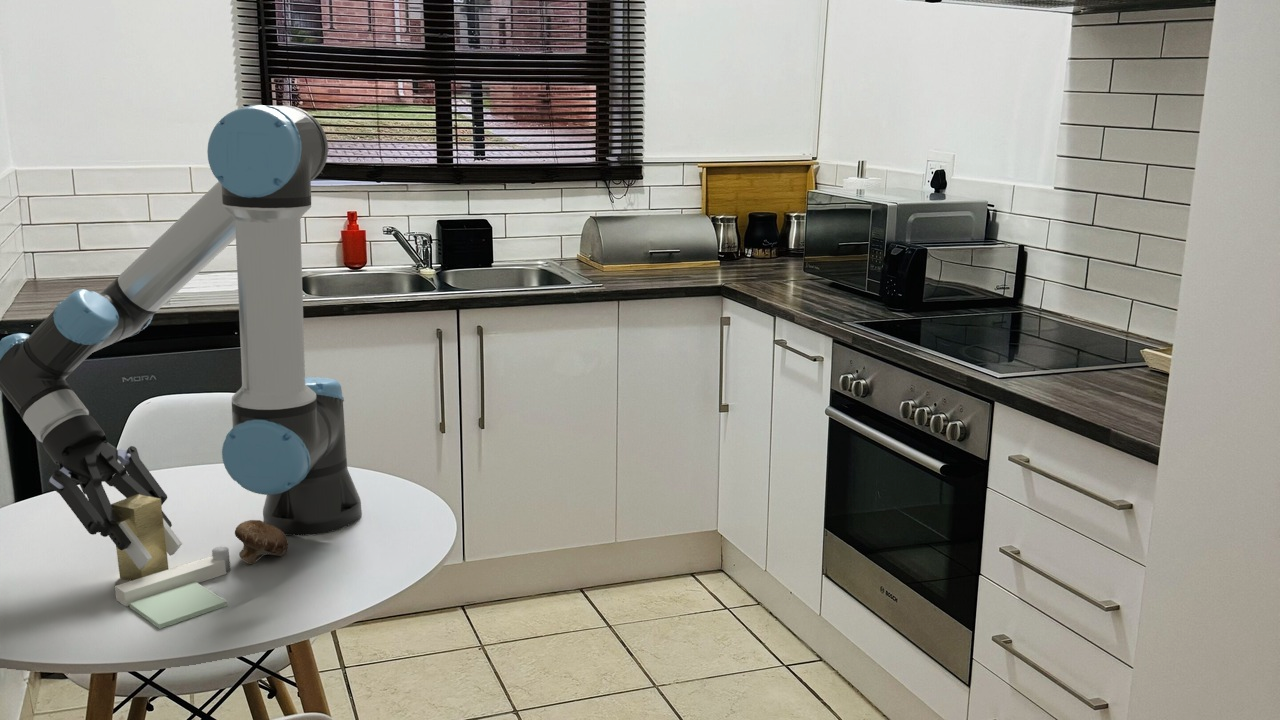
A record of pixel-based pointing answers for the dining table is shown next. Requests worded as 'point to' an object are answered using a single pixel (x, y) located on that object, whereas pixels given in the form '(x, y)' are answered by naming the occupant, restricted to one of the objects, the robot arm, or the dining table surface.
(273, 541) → the mushroom
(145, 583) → the door edge
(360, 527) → the dining table surface
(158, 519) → the block
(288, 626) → the dining table surface
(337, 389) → the robot arm
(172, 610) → the plate
